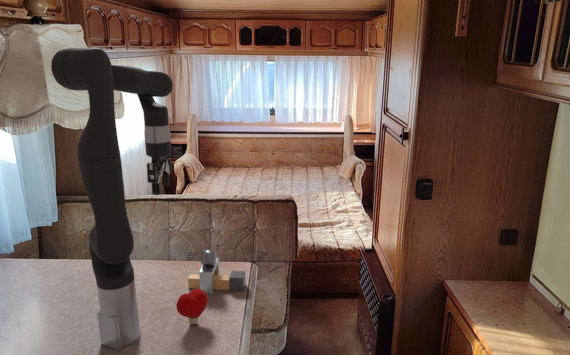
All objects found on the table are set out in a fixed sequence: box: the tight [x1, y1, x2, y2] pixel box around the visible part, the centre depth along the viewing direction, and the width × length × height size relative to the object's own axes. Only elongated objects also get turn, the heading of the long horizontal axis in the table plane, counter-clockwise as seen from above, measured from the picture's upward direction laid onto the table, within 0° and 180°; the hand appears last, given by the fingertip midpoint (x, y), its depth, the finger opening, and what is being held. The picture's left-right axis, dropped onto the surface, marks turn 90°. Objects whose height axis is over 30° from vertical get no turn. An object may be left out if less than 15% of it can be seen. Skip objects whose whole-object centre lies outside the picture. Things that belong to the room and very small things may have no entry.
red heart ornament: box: [175, 288, 209, 326], centre depth 120 cm, size 9×7×10 cm
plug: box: [187, 270, 246, 293], centre depth 140 cm, size 18×4×5 cm, turn 86°
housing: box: [198, 249, 220, 296], centre depth 139 cm, size 4×10×13 cm, turn 176°
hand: (161, 190), depth 134 cm, fingers open, 8 cm apart
